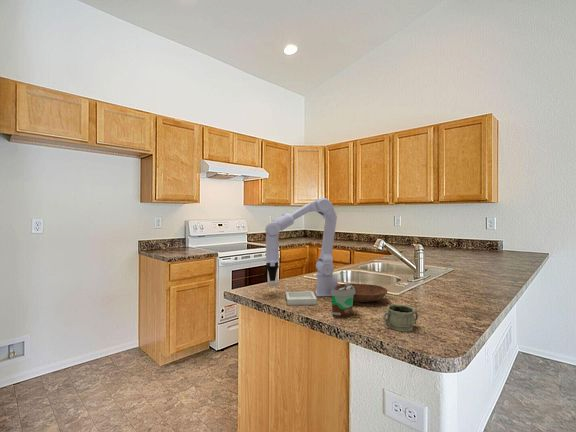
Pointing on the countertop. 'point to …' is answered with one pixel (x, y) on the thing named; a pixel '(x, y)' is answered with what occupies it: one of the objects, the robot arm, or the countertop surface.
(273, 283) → the shaker
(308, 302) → the tray
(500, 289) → the countertop surface
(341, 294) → the food container
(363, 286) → the bowl
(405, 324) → the vessel
